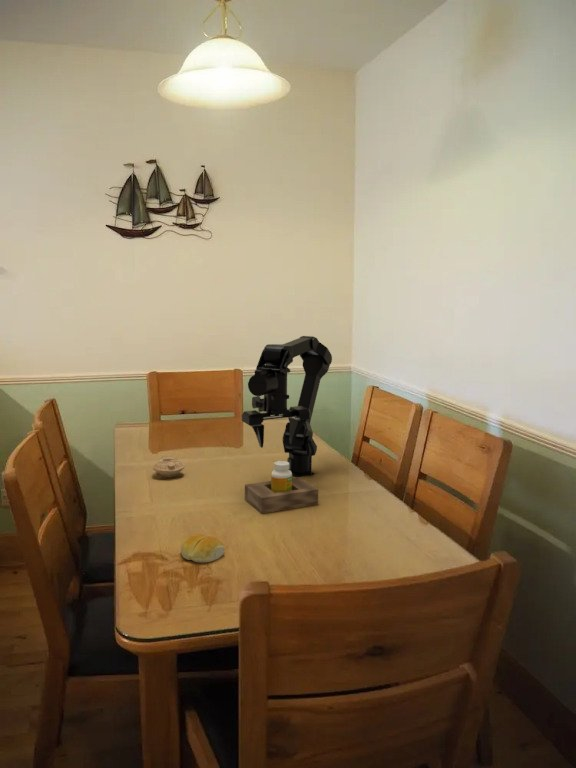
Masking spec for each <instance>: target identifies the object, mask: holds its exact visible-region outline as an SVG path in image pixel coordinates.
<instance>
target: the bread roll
mask: <svg viewBox="0 0 576 768" xmlns="http://www.w3.org/2000/svg"><path fill="white" fill-rule="evenodd" d="M180 553H181V556H182V557H183V558H184V559H185V560H188V561H193V562H195V563H201V564H202V563H203V564H204V563H205V564H206V563H210V562H211V563H212V562H214V561H216V560H218V559H220V558H221V557H223V555H224V553H225V545H224V542H222V541H221V540H220V539H219V538H217V537H214V536H208V535H206V534H203V533H198V534H192V535H190V536H188V537H186V538H185V539H184V540H183V541H182V543H181V546H180Z"/></svg>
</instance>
